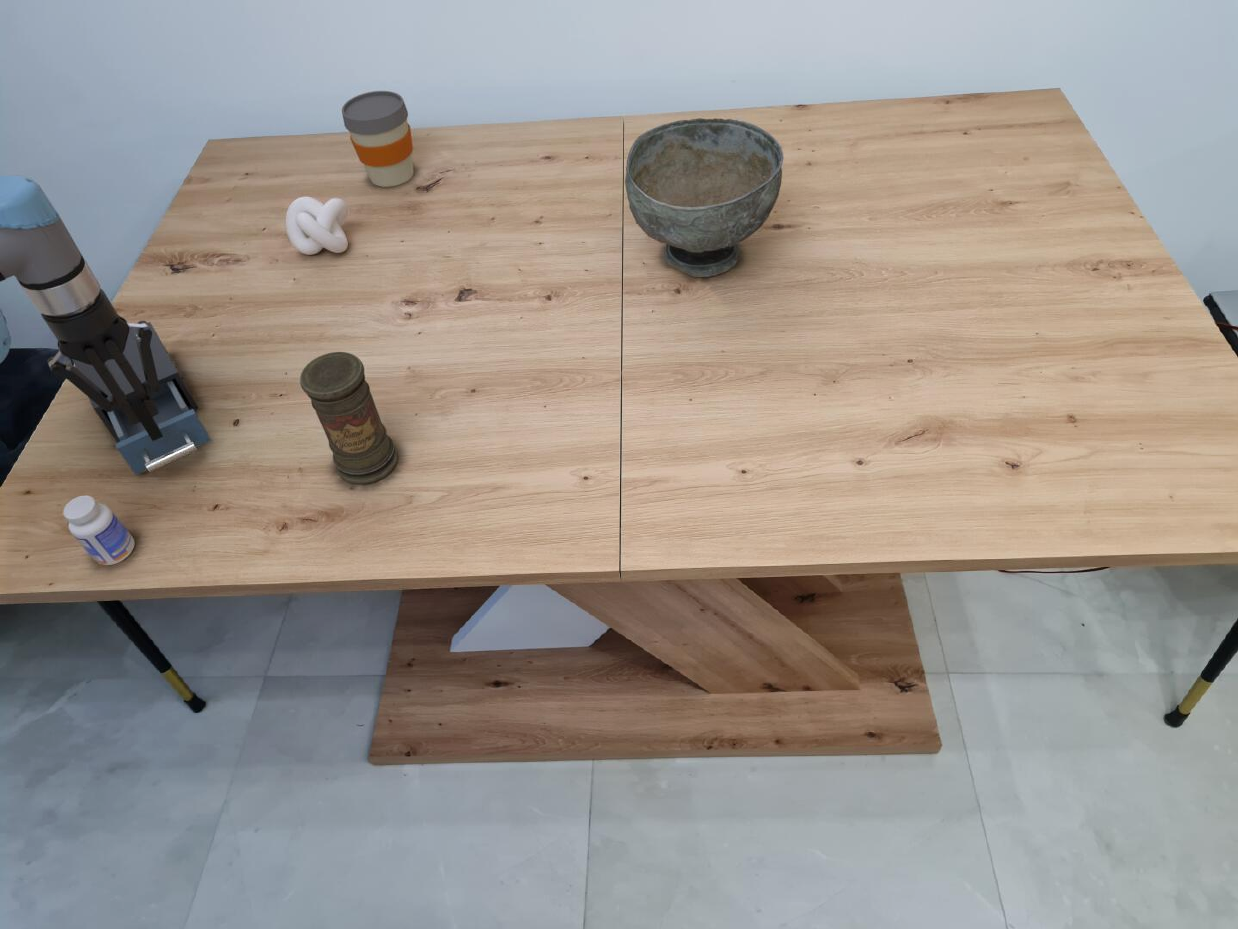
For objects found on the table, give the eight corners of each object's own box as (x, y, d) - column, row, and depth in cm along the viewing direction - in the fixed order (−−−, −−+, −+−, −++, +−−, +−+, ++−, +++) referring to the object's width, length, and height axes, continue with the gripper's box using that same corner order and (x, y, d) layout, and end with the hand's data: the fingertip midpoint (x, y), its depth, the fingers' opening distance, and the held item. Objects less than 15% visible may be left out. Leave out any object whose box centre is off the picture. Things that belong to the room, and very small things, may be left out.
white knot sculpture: (366, 253, 168) (352, 211, 161) (302, 273, 165) (286, 231, 158) (351, 224, 175) (337, 182, 168) (290, 242, 172) (274, 201, 166)
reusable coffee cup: (372, 198, 181) (351, 127, 170) (354, 171, 189) (332, 102, 177) (431, 178, 184) (413, 108, 173) (410, 152, 192) (392, 84, 181)
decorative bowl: (721, 195, 172) (721, 96, 157) (809, 261, 157) (819, 158, 142) (604, 250, 164) (592, 151, 149) (686, 324, 150) (682, 223, 134)
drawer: (221, 458, 133) (205, 431, 129) (144, 494, 130) (125, 468, 125) (183, 388, 145) (167, 361, 140) (111, 420, 141) (92, 393, 136)
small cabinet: (198, 407, 143) (177, 372, 137) (118, 444, 138) (93, 408, 133) (170, 356, 152) (149, 321, 146) (94, 389, 147) (70, 354, 142)
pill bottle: (136, 530, 126) (102, 485, 119) (134, 560, 123) (99, 515, 116) (96, 541, 125) (59, 497, 118) (93, 571, 122) (55, 527, 115)
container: (331, 453, 134) (290, 362, 120) (389, 432, 136) (355, 341, 123) (344, 494, 128) (303, 404, 115) (405, 472, 130) (371, 380, 117)
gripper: (116, 265, 115) (192, 399, 133) (9, 306, 111) (102, 439, 128) (132, 293, 111) (208, 428, 128) (21, 336, 106) (115, 470, 124)
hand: (155, 433), depth 128 cm, fingers closed
